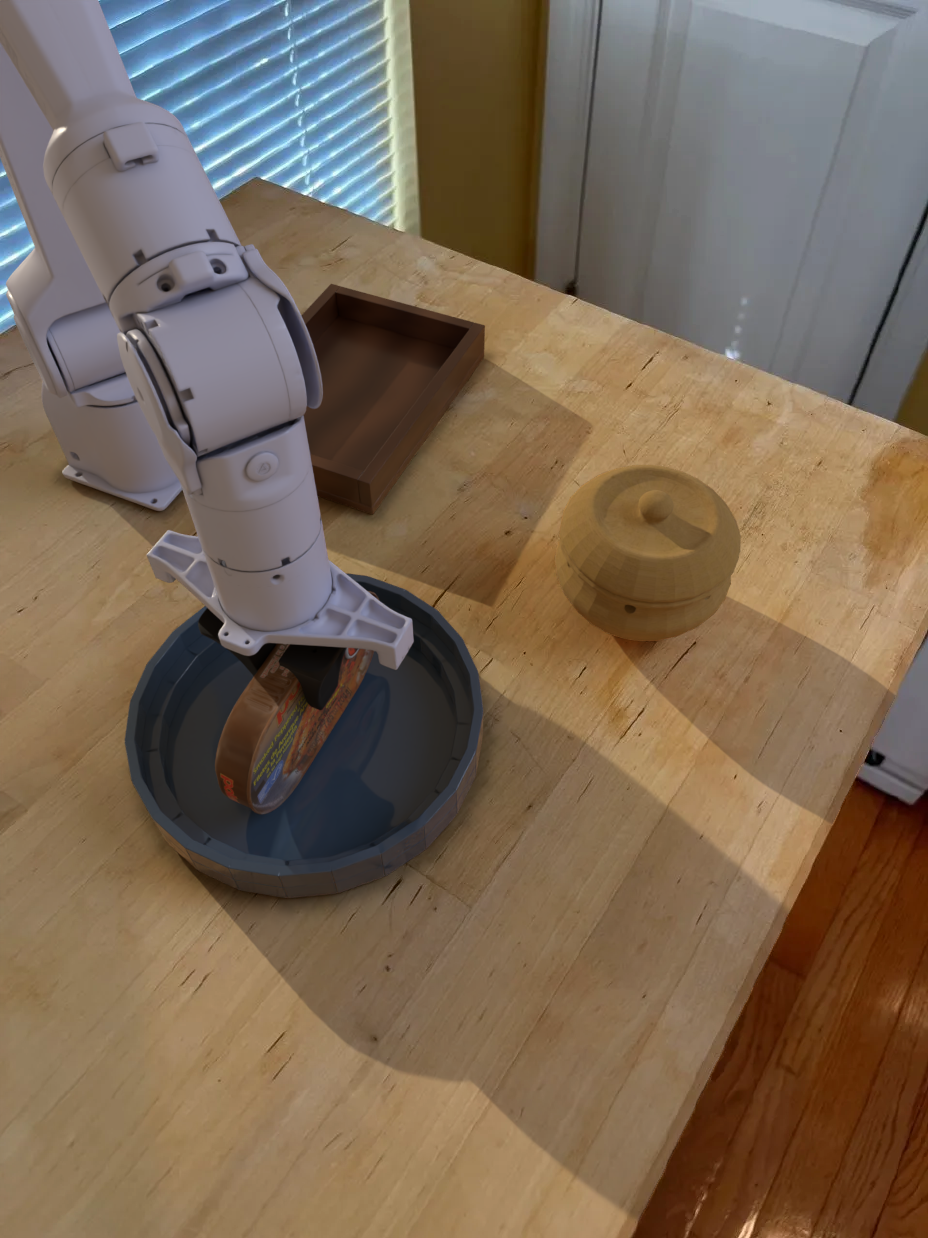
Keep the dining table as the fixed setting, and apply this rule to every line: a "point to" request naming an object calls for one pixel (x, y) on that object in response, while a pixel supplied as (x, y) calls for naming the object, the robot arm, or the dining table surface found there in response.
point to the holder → (380, 388)
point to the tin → (279, 731)
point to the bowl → (336, 779)
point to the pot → (646, 552)
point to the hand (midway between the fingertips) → (300, 685)
